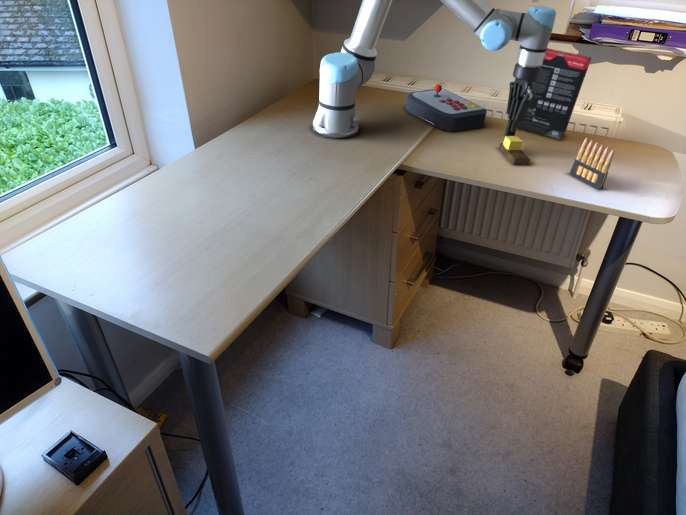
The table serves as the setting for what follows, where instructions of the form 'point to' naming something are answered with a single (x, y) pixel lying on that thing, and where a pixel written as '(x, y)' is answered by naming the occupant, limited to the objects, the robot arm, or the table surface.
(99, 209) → the table surface
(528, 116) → the graphics card box
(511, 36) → the robot arm
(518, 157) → the walnut strip
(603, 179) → the ammunition clip
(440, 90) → the arcade joystick
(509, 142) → the yellow block
